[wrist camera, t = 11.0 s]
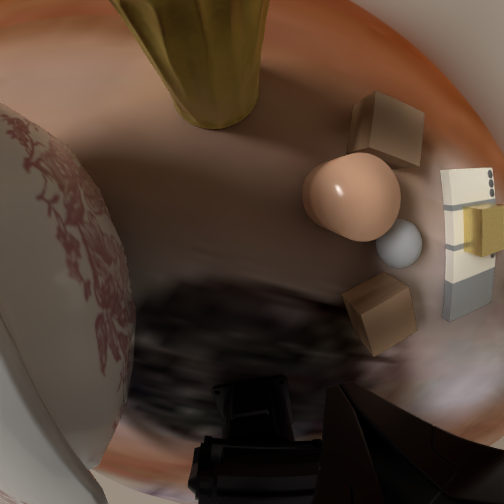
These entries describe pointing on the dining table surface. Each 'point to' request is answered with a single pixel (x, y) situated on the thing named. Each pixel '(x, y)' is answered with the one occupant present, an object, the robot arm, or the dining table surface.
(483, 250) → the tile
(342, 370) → the dining table surface
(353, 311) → the walnut cube
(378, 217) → the peach rounded capsule
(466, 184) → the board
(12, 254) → the chamber pot
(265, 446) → the robot arm
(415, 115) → the walnut cube
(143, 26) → the vase
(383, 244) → the grey ball
